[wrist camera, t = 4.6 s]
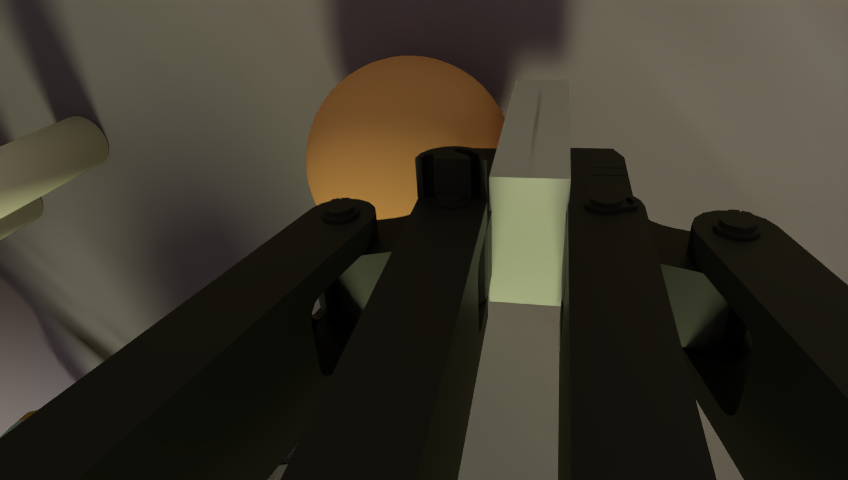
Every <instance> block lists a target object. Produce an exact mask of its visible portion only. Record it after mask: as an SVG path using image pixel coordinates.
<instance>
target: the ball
mask: <svg viewBox="0 0 848 480" xmlns="http://www.w3.org/2000/svg"><path fill="white" fill-rule="evenodd" d="M504 120H505V118H504V116H503V114H502V112H501V110H500V108H499V106H498V105H497V103H496V102H495V100H494V99H493V97H492V96H491V95H490V94H489V92H488V91H487V90H486V89H485V88H484V87H483V86H482V85H481V84H480V83H479V82H478V81H477V80H476V79H474V78H473V77H472V76H470V75H469V74H468V73H466V72H465V71H463V70H461V69H459V68H457V67H456V66H454V65H452V64H449V63H446V62H443V61H441V60H438V59H434V58H429V57H424V56H395V57H389V58H386V59H382V60H378V61H375V62H372V63H370V64H367V65H365V66H363V67H361V68H359V69H358V70H356V71H355V72H353V73H351V74H350V75H348V76H347V77H346V78H345V79H343V80H342V81H341V82H340V83H339V84H338V85H337V86H336V87H335V88H334V89H333V90H332V91H331V92H330V94H329V95H328V96H327V97H326V99H325V100H324V102H323V103H322V105H321V107H320V109H319V110H318V112H317V114H316V116H315V118H314V121H313V124H312V126H311V130H310V133H309V137H308V142H307V151H306V170H307V177H308V182H309V186H310V190H311V193H312V196H313V198H314V201H315V203H316V205H319V204H321V203H325V202H328V201H331V200H332V199H336V198H340V199H341V198H350V199H360V200H364V201H367V202H370V203H371V204H372V205H373V206H375V210H376V217H377V220H380V219H389V218H396V217H402V216H406V215H410V214H411V212H412V210H413V208H414V206H415V204H416V201H417V199H418V195H417V181H416V167H415V158H416V157H417V156H418V155H419V154H420V153H422V152H425V151H427V150H429V149H434V148H438V147H446V146H462V147H470V148H497V146H498V143H499V139H500V135H501V131H502V128H503V124H504Z"/></svg>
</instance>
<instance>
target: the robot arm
mask: <svg viewBox="0 0 848 480" xmlns="http://www.w3.org/2000/svg"><path fill="white" fill-rule="evenodd" d="M415 167H416V181H417V195H418V199H417V201H416V204H415V206H414V208H413V210H412V212H411V214H410V215H406V216H402V217H396V218H389V219H380V220H377V217H376V210H375V206H373V205H372V204H371V203H370V202H367V201H364V200H360V199H350V198H341V199H340V198H336V199H332V200H331V201H328V202H325V203H321V204H319V205H317V206H315V207H314V208H312V209H310V210H309V211H308V212H306V213H305V214H303V215H302V216H301V217H299V218H298V219H297V220H295V221H294V222H293V223H291V224H290V225H289V226H287V227H286V228H284V229H283V230H282V231H280V232H279V233H278V234H276V235H275V236H274V237H272V238H271V239H270V240H268V241H267V242H265V243H264V244H263V245H261V246H260V247H259V248H257V249H256V250H255V251H253V252H252V253H251V254H249V255H248V256H246V257H245V258H244V259H242V260H241V261H240V262H238V263H237V264H236V265H234V266H233V267H232V268H230V269H229V270H228V271H226V272H225V273H223V274H222V275H221V276H219V277H218V278H217V279H215V280H214V281H213V282H211V283H210V284H209V285H207V286H206V287H204V288H203V289H202V290H200V291H199V292H198V293H196V294H195V295H194V296H192V297H191V298H190V299H188V300H187V301H185V302H184V303H183V304H181V305H180V306H179V307H177V308H176V309H175V310H173V311H172V312H171V313H169V314H168V315H166V316H165V317H164V318H162V319H161V320H160V321H158V322H157V323H156V324H154V325H153V326H152V327H150V328H149V329H147V330H146V331H145V332H143V333H142V334H141V335H139V336H138V337H137V338H135V339H134V340H133V341H131V342H130V343H129V344H127V345H126V346H124V347H123V348H122V349H120V350H119V351H118V352H116V353H115V354H114V355H112V356H111V357H110V358H108V359H107V360H105V361H104V362H103V363H101V364H100V365H99V366H97V367H96V368H95V369H93V370H92V371H91V372H89V373H88V374H86V375H85V376H84V377H82V378H81V379H80V380H78V381H77V382H76V383H74V384H73V385H72V386H70V387H69V388H67V389H66V390H65V391H64V392H62V393H61V394H59V395H58V396H57V397H55V398H54V399H53V400H51V401H50V402H49V403H47V404H46V405H44V406H43V407H42V408H41V409H39V410H38V411H36V412H35V413H34V414H32V415H31V416H30V417H28V418H27V419H25V420H24V421H23V422H21V423H20V424H19V425H17V426H16V427H15V428H13V429H12V430H11V431H9V432H8V433H6V434H5V435H4V436H2V437H1V438H0V480H268V478H269V477H270V476H271V475H272V473H273V472H274V471H275V470H276V469H277V467H278V466H279V465H280V464H281V462H282V461H283V460H284V459H285V457H286V456H287V455H288V454H289V453H290V451H291V450H292V449H293V448H294V446H295V445H296V444H297V443H298V441H299V440H300V441H299V443H298V445H297V447H296V449H295V451H294V453H293V455H292V457H291V459H290V461H289V463H288V465H287V467H286V469H285V471H284V473H283V475H282V477H281V479H280V480H458V474H459V469H460V464H461V458H462V453H463V447H464V442H465V437H466V431H467V426H468V420H469V415H470V410H471V404H472V399H473V393H474V388H475V383H476V377H477V372H478V366H479V361H480V356H481V350H482V345H483V339H484V334H485V329H486V323H487V318H488V292H489V287H490V301H495V302H509V303H522V304H537V305H551V306H561V311H560V326H559V340H558V352H559V444H558V480H716V476H715V472H714V469H713V465H712V461H711V457H710V453H709V449H708V446H707V442H706V438H705V434H704V430H703V426H702V423H701V419H700V415H699V411H698V407H697V403H696V400H697V402H698V404H699V405H700V407H701V409H702V410H703V412H704V414H705V415H706V417H707V419H708V420H709V422H710V424H711V425H712V427H713V429H714V430H715V432H716V434H717V435H718V437H719V439H720V440H721V442H722V444H723V445H724V447H725V449H726V450H727V452H728V454H729V455H730V457H731V458H732V460H733V462H734V463H735V465H736V467H737V468H738V470H739V472H740V473H741V475H742V477H743V478H744V480H848V285H847V284H846V283H844V282H843V281H842V280H841V279H840V278H838V277H837V276H836V275H835V274H834V273H833V272H831V271H830V270H829V269H828V268H827V267H825V266H824V265H823V264H822V263H821V262H819V261H818V260H817V259H816V258H815V257H814V256H812V255H811V254H810V253H809V252H808V251H806V250H805V249H804V248H803V247H802V246H800V245H799V244H798V243H797V242H796V241H795V240H793V239H792V238H791V237H790V236H789V235H787V234H786V233H785V232H784V231H783V230H781V229H780V228H779V227H778V226H776V225H775V224H773V223H771V222H770V221H768V220H767V219H764V218H761V217H758V216H755V215H753V214H752V213H750V212H745V211H742V212H739V211H740V210H728V211H718V210H717V211H711V212H706V213H702V214H701V215H699V216H697V217H695V218H694V220H693V223H692V226H691V231H686V230H681V229H676V228H671V227H667V226H663V225H660V224H657V223H655V222H652V221H650V220H649V219H648V216H647V212H646V208H645V206H644V204H643V203H642V202H641V200H639V199H637V198H636V197H634V196H633V194H632V190H631V185H630V181H629V177H628V172H627V169H626V163H625V159H624V157H623V156H622V155H620V154H619V153H618V152H616V151H615V150H614V149H596V148H570V112H569V80H515V84H514V87H513V91H512V95H511V98H510V102H509V106H508V109H507V113H506V117H505V120H504V124H503V128H502V131H501V135H500V139H499V143H498V146H497V148H470V147H462V146H446V147H438V148H434V149H429V150H427V151H425V152H422V153H420V154H419V155H418V156H417V157H416V158H415ZM318 298H319V302H320V309H319V310H318V311H317V312H316V313H315V314H314V315H312V311H313V307H314V304H315V302H316V300H317V299H318ZM695 399H696V400H695Z"/></svg>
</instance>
